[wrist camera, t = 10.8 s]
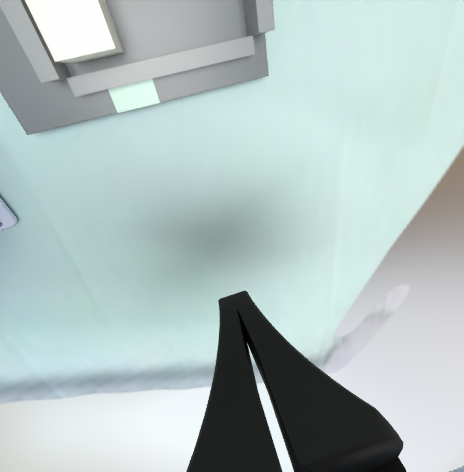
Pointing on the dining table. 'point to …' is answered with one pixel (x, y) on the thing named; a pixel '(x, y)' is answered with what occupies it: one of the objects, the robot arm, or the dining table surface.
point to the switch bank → (132, 59)
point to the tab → (76, 29)
